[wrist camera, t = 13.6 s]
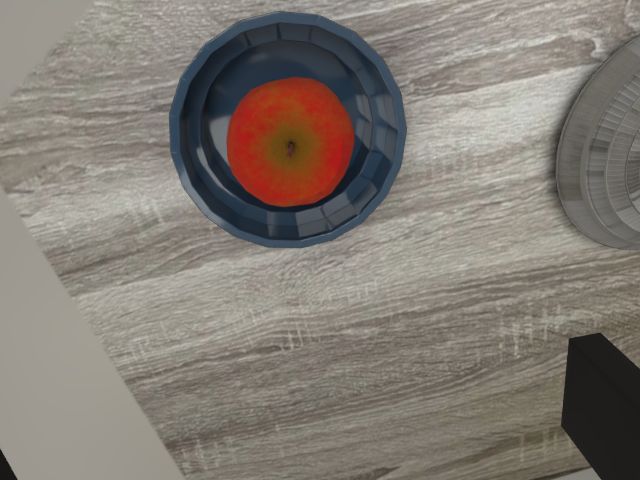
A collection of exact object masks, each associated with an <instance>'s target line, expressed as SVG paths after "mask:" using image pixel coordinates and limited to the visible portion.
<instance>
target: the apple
mask: <svg viewBox="0 0 640 480" xmlns="http://www.w3.org/2000/svg"><path fill="white" fill-rule="evenodd" d="M226 144H227V159H228V162H229V165H230V167H231V170H232V173H233V175H234V176H235V177H236V179H237V180H238V181H239V182H240V184H241V185H242V186H243V188H244V189H245V190H246V191H247V192H249V193H250V194H252V195H253V196H255V197H256V198H258V199H260V200H261V201H263V202H264V203H266V204H269V205H275V206H281V207H289V206H297V205H304V204H312V203H316V202H317V201H319V200H321V199H322V198H324V197H326V196H328V195H329V194H331V193H332V192H333V190H334V189H335V188H336V186H337V185H338V184H339V182H340V181H341V179H342V178H343V177H344V175H345V172H346V170H347V168H348V165H349V162H350V158H351V155H352V151H353V147H354V129H353V126H352V123H351V120H350V117H349V114H348V113H347V111H346V109H345V108H344V106H343V105H342V103H341V102H340V100H339V99H338V97H337V96H336V94H335V93H334V92H333V91H331V90H330V89H329V88H328V87H327V86H326V85H325V84H323V83H321V82H319V81H316V80H314V79H311V78H301V77H291V78H286V79H280V80H275V81H271V82H267V83H265V84H263V85H261V86H258V87H256V88H254V89H252V90H251V91H250V92H249V93H248V94H247V95H246V96H245V97H244V98H243V99H242V100H241V101H240V103H239V104H238V106H237V108H236V110H235V111H234V113H233V115H232V117H231V119H230V120H229V126H228V131H227V138H226Z"/></svg>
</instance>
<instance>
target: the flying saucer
mask: <svg viewBox="0 0 640 480" xmlns="http://www.w3.org/2000/svg"><path fill="white" fill-rule="evenodd" d="M556 183H557V189H558V194H559V197H560V201H561V203H562V206H563V208H564V210H565V212H566V214H567V216H568V217H569V219H570V220H571V221H572V223H573V224H574V225H575V226H576V227H577V228H578V229H579V230H580V231H581V232H582V233H583V234H584V235H586V236H587V237H589V238H590V239H592V240H594V241H596V242H598V243H600V244H602V245H605V246H608V247H612V248H617V249H624V250H640V35H638V36H636V37H635V38H633V39H632V40H630V41H629V42H628V43H626V44H625V45H624V46H622V47H621V48H620V49H618V50H617V51H616V52H615V53H614V54H613V55H612V56H610V57H609V58H608V59H607V60H606V61H605V62H604V63H603V64H602V65H601V66H600V67H599V69H598V70H597V71H596V72H595V73H594V74H593V76H592V77H591V78H590V79H589V81H588V82H587V83H586V85H585V86H584V88H583V89H582V91H581V92H580V94H579V95H578V97H577V99H576V100H575V102H574V104H573V106H572V108H571V110H570V112H569V114H568V116H567V119H566V121H565V124H564V127H563V129H562V133H561V136H560V140H559V144H558V149H557V156H556Z"/></svg>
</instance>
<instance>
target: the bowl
mask: <svg viewBox="0 0 640 480" xmlns="http://www.w3.org/2000/svg"><path fill="white" fill-rule="evenodd" d="M291 77H301V78H311V79H314V80H316V81H319V82H321V83H323V84H325V85H326V86H327V87H328V88H329V89H330V90H331V91H333V92H334V93H335V94H336V96H337V97H338V99H339V100H340V102H341V103H342V105H343V106H344V108H345V109H346V111H347V113H348V114H349V117H350V120H351V123H352V126H353V129H354V147H353V151H352V155H351V158H350V162H349V165H348V168H347V170H346V172H345V175H344V177H343V178H342V179H341V181H340V182H339V184H338V185H337V186H336V188H335V189H334V190H333V192H332V193H331V194H329V195H328V196H326V197H324V198H322V199H321V200H319V201H317V202H316V203H312V204H304V205H297V206H289V207H281V206H275V205H269V204H266V203H264V202H263V201H261V200H260V199H258V198H256V197H255V196H253V195H252V194H250V193H249V192H247V191H246V190H245V189H244V188H243V186H242V185H241V184H240V182H239V181H238V180H237V179H236V177H235V176H234V175H233V173H232V170H231V167H230V165H229V162H228V159H227V144H226V138H227V131H228V126H229V120H230V119H231V117H232V115H233V113H234V111H235V110H236V108H237V106H238V104H239V103H240V101H241V100H242V99H243V98H244V97H245V96H246V95H247V94H248V93H249V92H250V91H251V90H252V89H254V88H256V87H258V86H261V85H263V84H265V83H267V82H271V81H275V80H280V79H286V78H291ZM169 131H170V152H171V157H172V159H173V162H174V165H175V167H176V170H177V173H178V175H179V178H180V181H181V184H182V186H183V188H184V190H185V191H186V192H187V194H188V195H189V196H190V197H191V199H192V200H193V201H194V203H195V204H196V205H197V206H198V208H199V209H200V210H201V211H202V213H203V214H204V215H205V216H206V217H207V218H208V219H210V220H211V221H213V222H214V223H215V224H217V225H218V226H220V227H221V228H223V229H224V230H226V231H227V232H228V233H230V234H231V235H233V236H235V237H237V238H240V239H243V240H246V241H249V242H252V243H255V244H258V245H262V246H265V247H273V248H304V247H308V246H312V245H316V244H320V243H323V242H327V241H331V240H333V239H336V238H338V237H339V236H341V235H343V234H344V233H346V232H348V231H349V230H351V229H353V228H354V227H356V226H358V225H359V224H361V223H362V222H364V221H365V220H366V218H367V217H368V216H369V215H370V214H371V213H372V212H373V211H374V210H375V209H376V208H377V207H378V205H379V204H380V203H381V202H382V201H383V200H384V199H385V198H386V196H387V194H388V192H389V190H390V188H391V186H392V184H393V182H394V180H395V178H396V176H397V174H398V172H399V170H400V168H401V165H402V159H403V153H404V146H405V140H406V133H407V127H406V120H405V114H404V108H403V101H402V95H401V92H400V90H399V88H398V86H397V84H396V82H395V80H394V78H393V76H392V74H391V72H390V70H389V68H388V66H387V64H386V63H385V61H384V60H383V58H382V57H381V56H380V55H379V54H378V53H377V52H376V51H375V50H374V49H373V48H372V47H371V46H370V45H369V44H368V43H367V42H366V41H364V40H363V39H362V38H361V37H360V36H359V35H358V34H357V33H356V32H355V31H353V30H350V29H348V28H346V27H344V26H342V25H340V24H338V23H335V22H333V21H331V20H329V19H327V18H325V17H323V16H320V15H315V14H305V13H294V12H284V11H276V12H271V13H267V14H263V15H259V16H255V17H252V18H248V19H244V20H241V21H238V22H236V23H235V24H233V25H232V26H230V27H229V28H228V29H226V30H225V31H223V32H222V33H220V34H219V35H217V36H216V37H214V38H213V39H211V40H210V41H208V42H207V43H205V45H203V47H202V48H201V49H200V51H199V52H198V54H197V55H196V56H195V58H194V59H193V60H192V62H191V63H190V65H189V66H188V67H187V69H186V70H185V71H184V73H183V74H182V75H181V78H180V80H179V83H178V87H177V90H176V93H175V96H174V100H173V103H172V106H171V110H170V113H169Z"/></svg>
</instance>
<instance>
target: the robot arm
mask: <svg viewBox="0 0 640 480" xmlns="http://www.w3.org/2000/svg"><path fill="white" fill-rule="evenodd" d="M561 426H562V428H563V429H564V430H565V432H566V433H567V434H568V436H569V437H570V438H571V440H572V441H573V442H574V444H575V445H576V446H577V448H578V449H579V450H580V452H581V453H582V454H583V456H584V457H585V458H586V460H587V461H588V462H589V464H590V465H591V466H592V468H593V469H594V470H595V472H596V473H597V474H598V476H599V477H600V479H601V480H640V369H639V368H638V367H637V366H636V365H635V364H634V363H633V362H632V361H630V360H629V359H628V358H627V357H626V356H625V355H624V354H623V353H622V352H621V351H620V350H619V349H617V348H616V347H615V346H614V345H613V344H612V343H611V342H610V341H609V340H608V339H607V338H605V337H604V336H603V335H602V334H601V333H596V334H591V335H585V336H580V337H575V338H570V339H569V345H568V355H567V366H566V377H565V388H564V399H563V410H562V421H561ZM0 480H17V478H16V476H15V474H14V472H13V471H12V469H11V467H10V465H9V463H8V462H7V460H6V458H5V456H4V455H3V453H2V451H1V450H0Z"/></svg>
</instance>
